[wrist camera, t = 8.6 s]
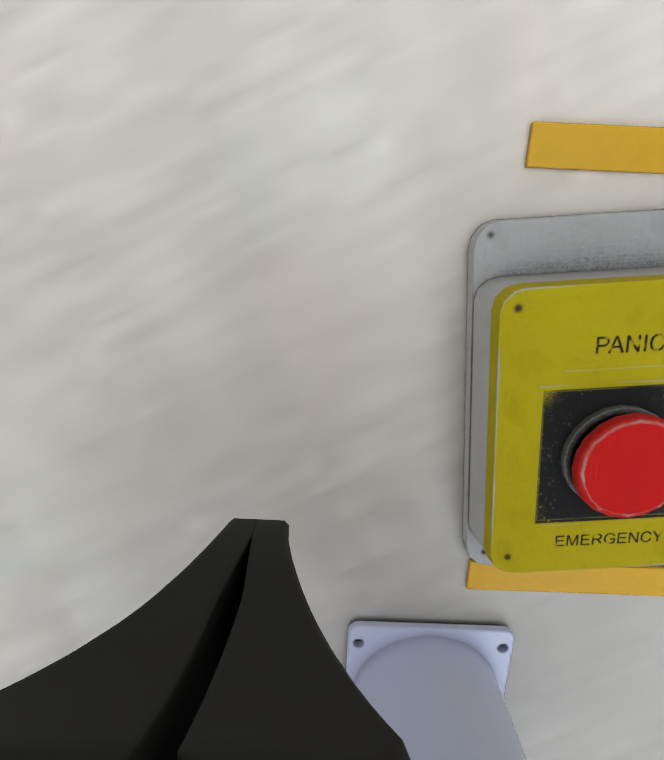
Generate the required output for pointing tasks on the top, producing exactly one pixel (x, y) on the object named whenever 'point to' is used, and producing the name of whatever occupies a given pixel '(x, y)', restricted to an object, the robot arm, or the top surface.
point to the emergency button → (565, 392)
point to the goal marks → (597, 153)
